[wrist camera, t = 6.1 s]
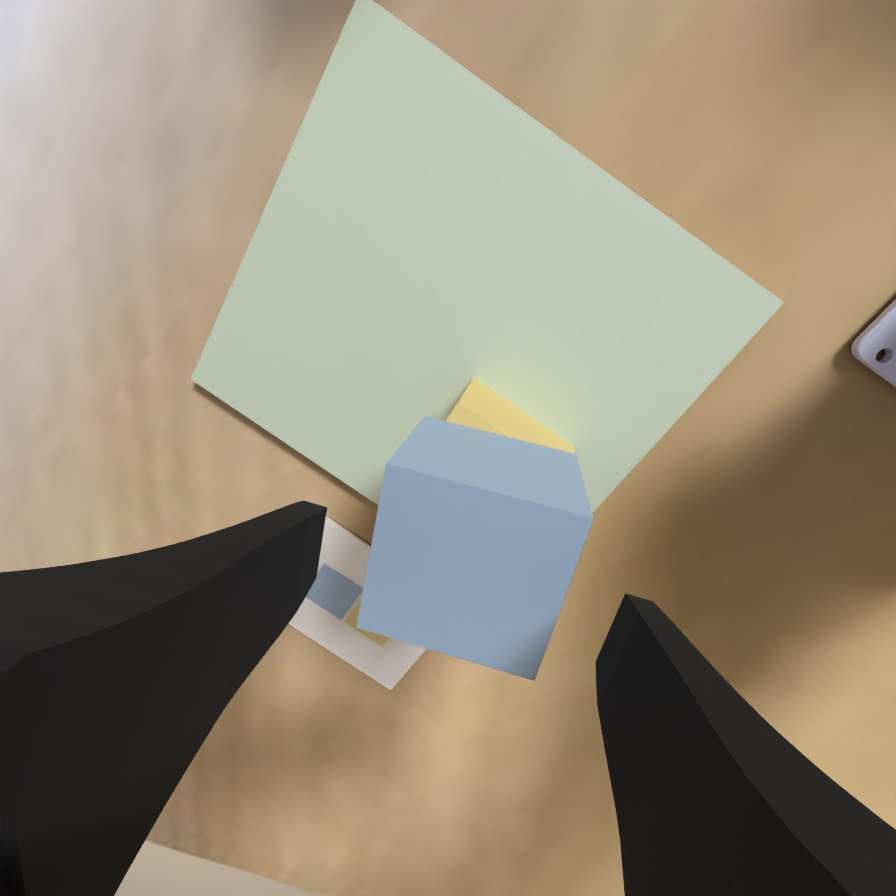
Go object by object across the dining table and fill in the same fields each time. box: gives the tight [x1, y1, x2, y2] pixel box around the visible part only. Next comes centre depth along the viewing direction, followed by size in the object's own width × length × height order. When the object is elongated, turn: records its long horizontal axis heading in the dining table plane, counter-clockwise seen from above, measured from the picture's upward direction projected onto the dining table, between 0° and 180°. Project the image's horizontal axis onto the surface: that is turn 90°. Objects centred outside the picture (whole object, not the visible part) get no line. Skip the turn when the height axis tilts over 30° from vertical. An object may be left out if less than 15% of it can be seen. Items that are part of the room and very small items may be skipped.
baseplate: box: [191, 0, 784, 513], centre depth 19 cm, size 18×16×1 cm
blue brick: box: [356, 416, 594, 681], centre depth 14 cm, size 5×5×4 cm
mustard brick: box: [445, 378, 575, 454], centre depth 18 cm, size 5×5×4 cm
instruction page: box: [288, 516, 426, 691], centre depth 25 cm, size 9×7×1 cm
